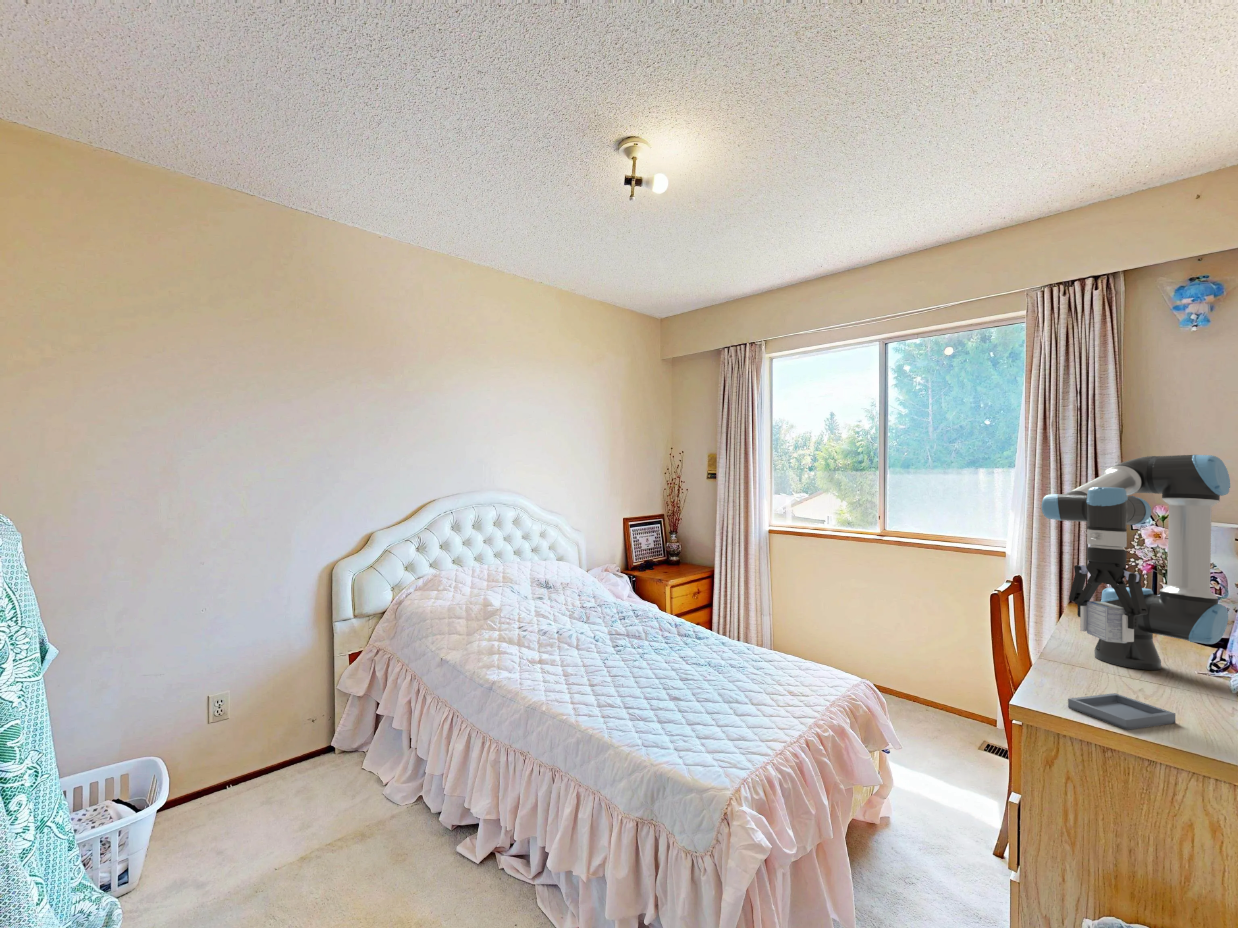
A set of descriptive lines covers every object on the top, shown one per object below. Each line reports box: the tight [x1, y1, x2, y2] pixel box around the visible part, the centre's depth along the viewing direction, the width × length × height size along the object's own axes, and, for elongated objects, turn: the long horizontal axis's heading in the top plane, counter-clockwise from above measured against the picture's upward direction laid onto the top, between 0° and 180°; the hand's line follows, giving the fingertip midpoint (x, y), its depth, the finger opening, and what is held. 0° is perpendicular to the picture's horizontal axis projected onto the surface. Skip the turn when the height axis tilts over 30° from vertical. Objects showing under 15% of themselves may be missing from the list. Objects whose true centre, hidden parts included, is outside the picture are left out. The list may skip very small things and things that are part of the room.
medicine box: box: [1086, 600, 1127, 643], centre depth 136 cm, size 8×4×9 cm, turn 167°
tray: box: [1067, 692, 1177, 731], centre depth 126 cm, size 16×12×2 cm
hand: (1106, 635), depth 135 cm, fingers closed on medicine box, 9 cm apart
